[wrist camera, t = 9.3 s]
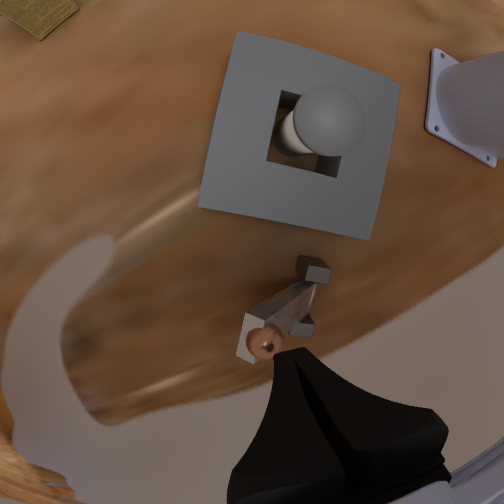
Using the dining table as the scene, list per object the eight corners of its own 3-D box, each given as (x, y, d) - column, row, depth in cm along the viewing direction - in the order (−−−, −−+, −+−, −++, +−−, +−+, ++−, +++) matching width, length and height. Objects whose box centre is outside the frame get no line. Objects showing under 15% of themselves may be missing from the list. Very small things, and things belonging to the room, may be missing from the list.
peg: (319, 121, 19) (372, 99, 12) (308, 165, 20) (357, 165, 12) (273, 107, 18) (305, 74, 11) (261, 152, 19) (287, 143, 12)
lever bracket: (320, 258, 21) (331, 269, 19) (302, 321, 23) (311, 337, 20) (299, 254, 21) (308, 265, 19) (282, 318, 22) (289, 335, 20)
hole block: (371, 95, 19) (400, 83, 15) (344, 227, 21) (369, 240, 17) (233, 54, 17) (237, 30, 13) (201, 198, 19) (197, 206, 16)
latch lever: (304, 275, 21) (332, 285, 20) (296, 306, 22) (322, 316, 21) (237, 314, 13) (280, 333, 12) (228, 358, 14) (267, 377, 13)
